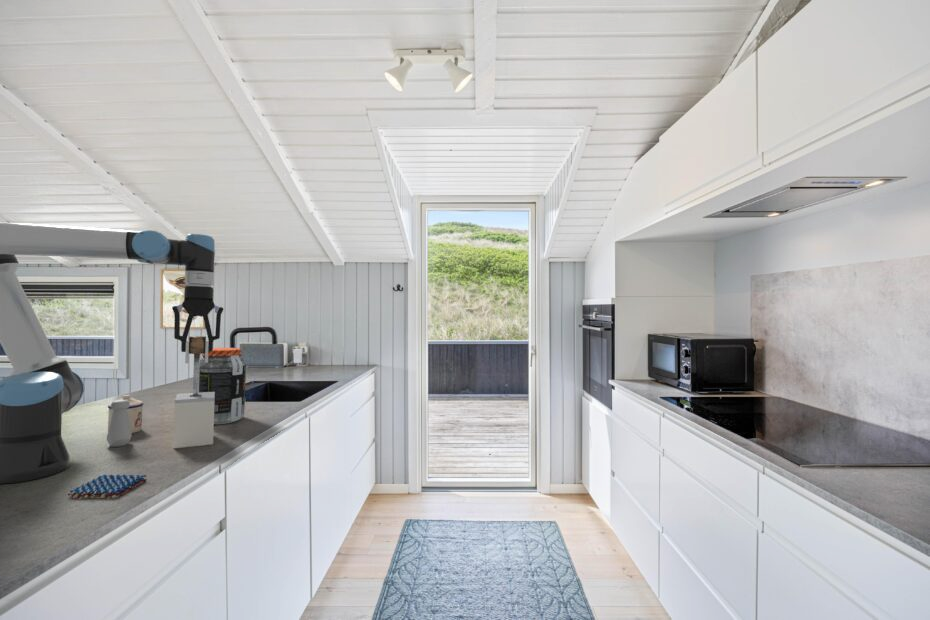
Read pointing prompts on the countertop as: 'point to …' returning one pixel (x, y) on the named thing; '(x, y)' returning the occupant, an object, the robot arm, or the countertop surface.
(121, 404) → the salt shaker
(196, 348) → the wooden block topped rod
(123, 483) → the woven mat
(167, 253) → the robot arm
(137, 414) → the cream lidded canister
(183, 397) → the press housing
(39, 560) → the countertop surface
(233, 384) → the supplement tub
